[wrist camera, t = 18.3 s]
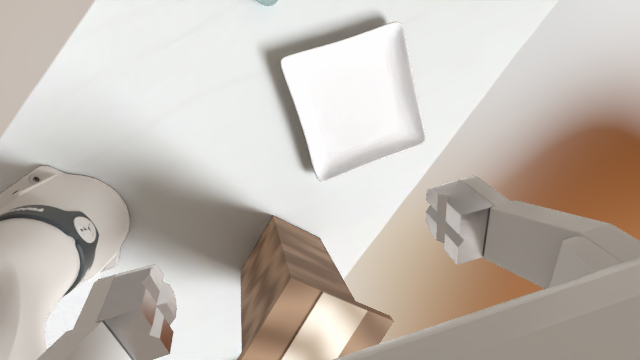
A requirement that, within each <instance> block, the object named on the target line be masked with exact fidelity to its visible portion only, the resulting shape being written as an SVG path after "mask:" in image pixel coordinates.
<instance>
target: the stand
mask: <svg viewBox="0 0 640 360" xmlns="http://www.w3.org/2000/svg"><path fill="white" fill-rule="evenodd" d="M393 322H394V321H393V319H392V318H391V317H390V316H389V315H386V314H384V313H382V312H380V311H377V310H375V309H373V308H370V307H368V306H366V305H363V304H361V303H358V302H356V301H355V300H354V298H353V296H352V294H351V293H350V291H349V289H348V287H347V285H346V284H345V282H344V280H343V278H342V277H341V275H340V273H339V271H338V269H337V268H336V266H335V264H334V262H333V261H332V259H331V257H330V255H329V253H328V252H327V250H326V248H325V246H324V245H323V243H322V241H321V239H320V238H319V237H317V236H315V235H313V234H311V233H309V232H307V231H305V230H302V229H300V228H298V227H296V226H294V225H292V224H290V223H288V222H286V221H284V220H282V219H280V218H278V217H275V216H273V217H272V218H271V220H270V222H269V223H268V225H267V227H266V229H265V230H264V232H263V234H262V235H261V237H260V239H259V241H258V242H257V244H256V246H255V247H254V249H253V251H252V253H251V254H250V256H249V258H248V259H247V261H246V263H245V264H244V266H243V268H242V270H241V325H242V353H241V354H240V356H239V357H238V359H237V360H333V359H336V358H339V357H342V356H345V355H348V354H351V353H354V352H357V351H360V350H363V349H366V348H369V347H372V346H375V345H378V344H379V343H380V342H381V340H382V339H383V337H384V336H385V334H386V333H387V331H388V329H389V328H390V326H391V325H392V323H393Z"/></svg>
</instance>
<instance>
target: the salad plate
mask: <svg viewBox="0 0 640 360" xmlns="http://www.w3.org/2000/svg"><path fill="white" fill-rule="evenodd" d="M280 64H281V69H282V72H283V75H284V78H285V81H286V83H287V86H288V89H289V92H290V94H291V97H292V100H293V102H294V105H295V108H296V111H297V114H298V117H299V120H300V123H301V126H302V129H303V133H304V136H305V139H306V143H307V146H308V150H309V154H310V158H311V162H312V165H313V168H314V171H315V174H316V177H317V179H318V180H319V181H327V180H330V179H333V178H336V177H338V176H341V175H343V174H346V173H348V172H351V171H353V170H356V169H358V168H360V167H363V166H365V165H368V164H370V163H373V162H375V161H378V160H381V159H383V158H386V157H389V156H392V155H394V154H397V153H400V152H403V151H406V150H409V149H412V148H414V147H417V146H419V145H421V144H423V143H424V142H425V140H426V135H425V129H424V124H423V119H422V115H421V111H420V106H419V101H418V97H417V92H416V87H415V83H414V78H413V73H412V67H411V62H410V57H409V51H408V46H407V40H406V36H405V31H404V28H403V26H402V24H401V23H400V22H392V23H389V24H386V25H383V26H380V27H377V28H374V29H372V30H369V31H366V32H363V33H361V34H358V35H355V36H352V37H349V38H346V39H343V40H340V41H337V42H333V43H330V44H326V45H323V46H319V47H315V48H312V49H308V50H304V51H301V52H297V53H294V54H291V55H288V56H285V57H283V58H282V59H281V62H280Z"/></svg>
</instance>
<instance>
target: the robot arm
mask: <svg viewBox="0 0 640 360" xmlns="http://www.w3.org/2000/svg"><path fill="white" fill-rule="evenodd" d="M35 177H38V178H39V181H37V180H36V179H35ZM426 200H427V202H428V203H429V204H430V206H429V208H428V210H427V211H426V221H427V225H428V228H429V230H430V232H431V234H432V235H433V237H434V238H435V239H436V240H438V241H440V242H443V243H445V245H444V250H445V251H446V252H447V253H448V255H449V256H450V257H451V258H452V259H453V260H454V262H455V263H456V264H460V263H464V262H467V261H471V260H475V259H478V258H482V257H484V259H486V260H488V261H490V262H492V263H494V264H496V265H498V266H500V267H502V268H504V269H506V270H508V271H510V272H512V273H514V274H516V275H518V276H520V277H522V278H524V279H527V280H528V281H530V282H532V283H534V284H536V285H539V286H541V287H542V288H544V289H543V290H540V291H537V292H534V293H531V294H528V295H525V296H522V297H519V298H516V299H513V300H510V301H507V302H504V303H501V304H498V305H495V306H492V307H489V308H486V309H483V310H480V311H477V312H474V313H471V314H468V315H465V316H462V317H459V318H456V319H453V320H450V321H447V322H444V323H441V324H438V325H435V326H432V327H429V328H426V329H423V330H420V331H417V332H414V333H411V334H408V335H405V336H402V337H399V338H396V339H393V340H390V341H387V342H384V343H381V344H378V345H375V346H372V347H369V348H366V349H363V350H360V351H357V352H354V353H351V354H348V355H345V356H342V357H339V358H336V359H333V360H640V241H639V240H637V239H635V238H634V237H632V236H630V235H629V234H627V233H625V232H624V231H622V230H621V229H619V228H617V227H615V226H614V225H612V224H609V223H605V222H601V221H597V220H593V219H589V218H585V217H581V216H577V215H573V214H569V213H565V212H561V211H557V210H553V209H549V208H545V207H541V206H537V205H533V204H528V203H525V202H521V201H512V202H511V201H510V200H508V199H507V198H506V197H504V196H503V195H502V194H500V193H499V192H497V191H496V190H495V189H494V188H492V187H491V186H489V185H488V184H487V183H485V182H484V181H482V180H481V179H480V178H478V177H477V176H469V177H466V178H463V179H460V180H458V181H455V182H451V183H448V184H444V185H440V186H437V187H433V188H430V189H428V190H427V193H426ZM129 225H130V218H129V212H128V209H127V207H126V204H125V203H124V201H123V199H122V198H121V197H120V195H119V194H118V193H117V192H116V191H115V190H114V189H112V188H111V187H110V186H108V185H107V184H105V183H103V182H101V181H99V180H97V179H94V178H91V177H87V176H82V175H73V174H66V173H63V172H61V171H59V170H57V169H55V168H52V167H49V166H39V167H38V168H36V169H35V170H33V171H32V172H30V173H29V174H27V175H26V176H25V177H23V178H22V179H20V180H19V181H18V182H16V183H15V184H13V185H12V186H11V187H9V188H8V189H6V190H5V191H4V192H2V193H1V194H0V360H153V359H156V358H159V357H162V356H165V355H168V354H170V350H171V343H172V337H173V330H172V329H171V327H170V324H171V323H172V322H173V320H174V319H175V318H176V310H177V308H176V298H175V295H174V292H173V290H172V288H171V286H170V285H169V284H166V283H164V282H162V280H163V275H164V274H163V272H162V271H161V269H160V267H159V266H158V265H151V266H147V267H143V268H139V269H135V270H131V271H127V272H123V273H119V274H117V275H112V276H108V277H105V278H101V279H98V280H97V281H96V282H95V283H94V285H93V287H92V289H91V291H90V293H89V296H88V298H87V300H86V302H85V304H84V307H83V309H82V311H81V313H80V315H79V318H78V320H77V322H76V324H75V326H74V328H73V330H70V331H67V332H66V333H65V334H63V335H62V336H61V337H60V338H59V339H58V340H57V341H56V342H55V343H54V344H53V345H52V346H51V347H50V348H48V349H47V348H46V342H45V326H46V321H47V319H48V317H49V315H50V314H51V312H52V311H53V309H54V308H55V306H56V305H57V303H58V302H59V301H60V299H61V298H62V297H63V296H65V295H66V294H68V293H69V292H70V291H72V290H73V289H74V288H75V287H77V286H79V285H80V283H82V282H85V281H87V282H89V281H91V280H93V279H94V278H95V277H96V276H97V275H98V274H99V273H100V272H104V271H107V270H111V269H113V268H114V267H115V266H116V265H117V264H118V262H119V258H120V248H121V245H122V243H123V242H124V240H125V238H126V236H127V234H128V231H129Z"/></svg>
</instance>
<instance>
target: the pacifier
mask: <svg viewBox="0 0 640 360" xmlns="http://www.w3.org/2000/svg"><path fill="white" fill-rule="evenodd" d="M257 1H258V2H259V3H261V4H263V5H265V6H272V5H274V4H275V3H276V2H277V1H278V0H271V1H269V0H257Z"/></svg>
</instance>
